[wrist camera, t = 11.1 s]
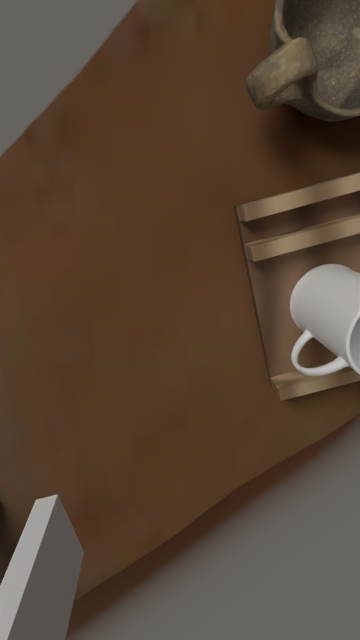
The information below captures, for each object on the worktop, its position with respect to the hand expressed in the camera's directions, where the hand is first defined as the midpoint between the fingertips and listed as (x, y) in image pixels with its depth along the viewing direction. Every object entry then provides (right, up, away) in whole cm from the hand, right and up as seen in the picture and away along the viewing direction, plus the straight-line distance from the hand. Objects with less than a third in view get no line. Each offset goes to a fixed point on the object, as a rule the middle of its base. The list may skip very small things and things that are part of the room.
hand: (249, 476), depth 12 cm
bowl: (+10, +30, +21) cm, 38 cm away
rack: (+13, +9, +27) cm, 32 cm away
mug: (+13, +7, +27) cm, 31 cm away
